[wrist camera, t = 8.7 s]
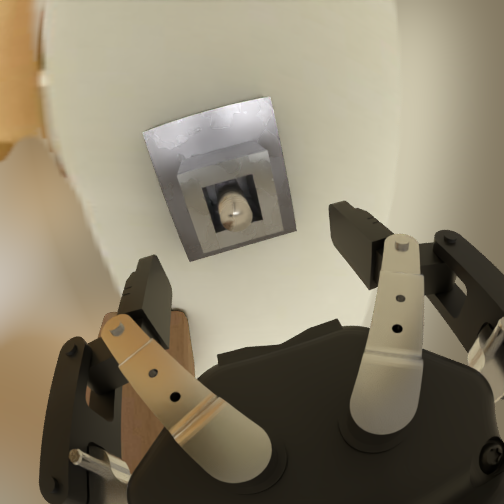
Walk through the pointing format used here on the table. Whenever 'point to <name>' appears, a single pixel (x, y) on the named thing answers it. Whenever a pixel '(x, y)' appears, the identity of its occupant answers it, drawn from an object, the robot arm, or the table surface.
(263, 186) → the collar
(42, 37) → the table surface
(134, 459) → the wooden block
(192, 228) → the shaft block
